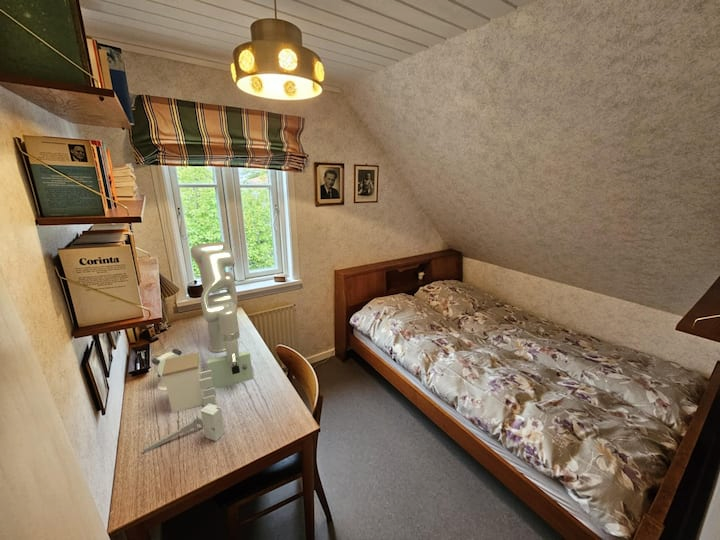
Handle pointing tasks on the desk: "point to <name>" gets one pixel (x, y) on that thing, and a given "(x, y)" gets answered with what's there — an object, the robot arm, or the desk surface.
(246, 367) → the door
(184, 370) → the cabinet
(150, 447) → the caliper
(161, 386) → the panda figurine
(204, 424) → the skincare box
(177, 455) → the desk surface
